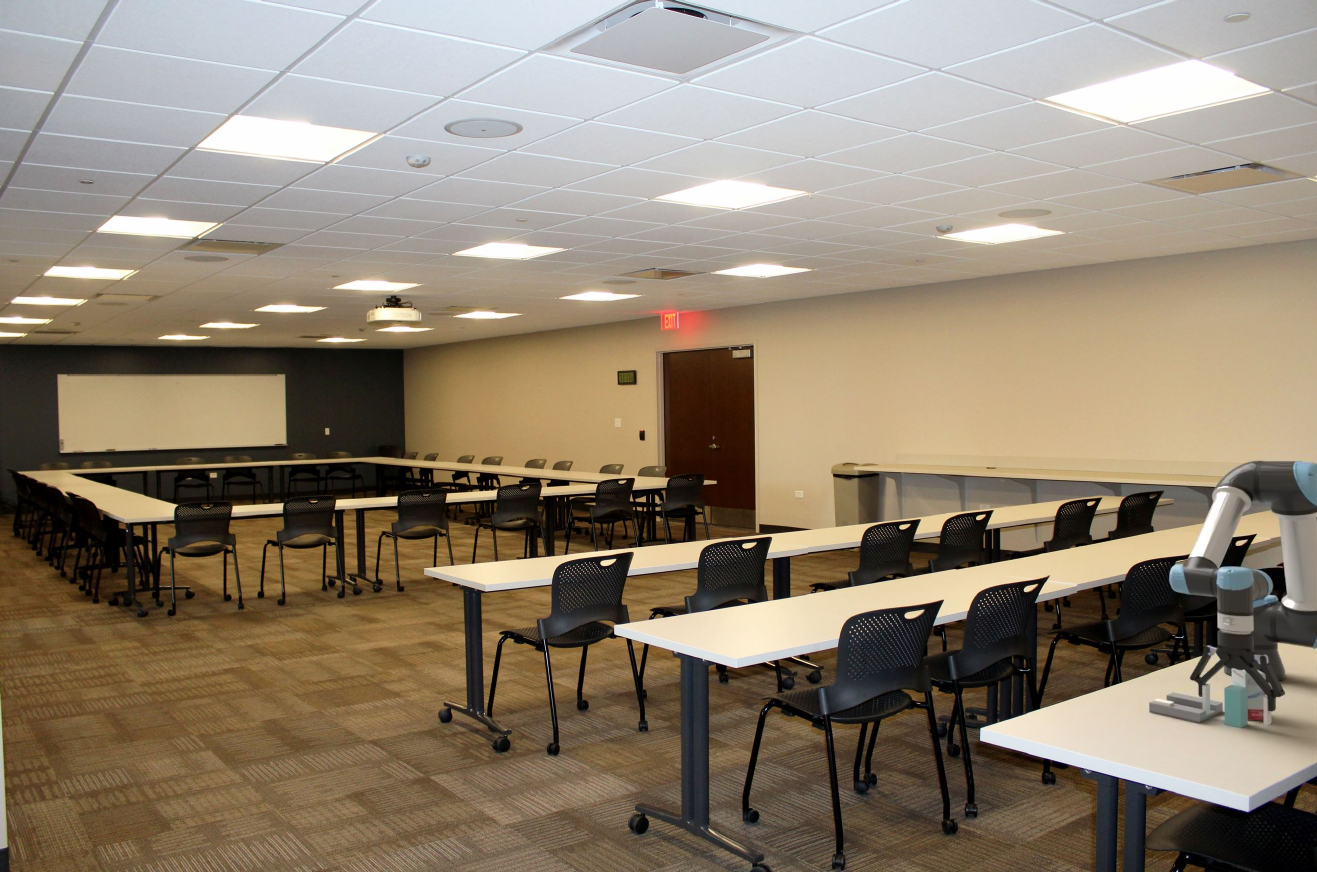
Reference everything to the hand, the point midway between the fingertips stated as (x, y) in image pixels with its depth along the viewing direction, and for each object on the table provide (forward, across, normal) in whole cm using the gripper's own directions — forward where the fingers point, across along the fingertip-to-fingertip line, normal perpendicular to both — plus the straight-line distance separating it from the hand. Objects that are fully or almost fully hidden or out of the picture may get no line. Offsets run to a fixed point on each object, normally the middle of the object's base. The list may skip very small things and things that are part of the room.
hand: (1236, 717), depth 227 cm
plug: (+2, 0, 0) cm, 2 cm away
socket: (+2, -12, +1) cm, 12 cm away
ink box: (+2, -1, +10) cm, 10 cm away
